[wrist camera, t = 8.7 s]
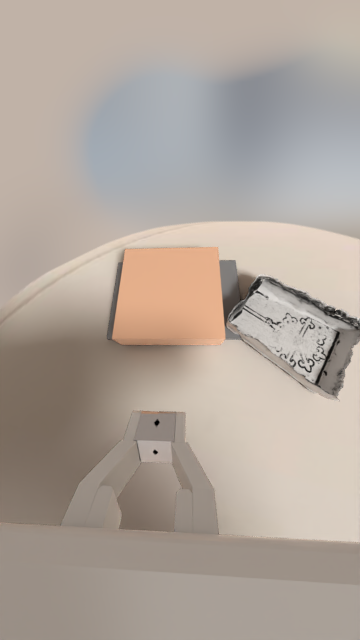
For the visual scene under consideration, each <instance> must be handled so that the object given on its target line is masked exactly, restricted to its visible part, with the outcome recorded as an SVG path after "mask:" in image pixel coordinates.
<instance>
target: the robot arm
mask: <svg viewBox="0 0 360 640" xmlns="http://www.w3.org/2000/svg"><path fill="white" fill-rule="evenodd" d="M141 462H159V463H173V467H174V469H175V472H176V474H177V477H178V479H179V482H180V484H181V487H182V489H179V490H178V491H177V493H176V508H175V525H174V532H164V531H146V530H128V529H119V526H120V522H121V517H122V513H121V511H120V508H119V505H118V502H117V498H118V496H119V495H120V493H121V492H122V490H123V489H124V487H125V486H126V484H127V483H128V481H129V480H130V479H131V477H132V476H133V474H134V473H135V471H136V470H137V468H138V467H139V465H140V464H141ZM0 640H360V542H342V541H324V540H307V539H289V538H271V537H253V536H235V535H219V532H218V522H217V512H216V503H215V493H214V488H213V487H212V485H211V483H210V481H209V480H208V478H207V476H206V474H205V472H204V471H203V469H202V467H201V465H200V463H199V462H198V460H197V458H196V456H195V455H194V453H193V451H192V449H191V447H190V446H189V444H188V443H187V442H186V414H185V412H162V411H159V412H152V411H133V412H132V414H131V417H130V420H129V423H128V427H127V430H126V433H125V436H124V439H123V440H120V441H119V442H118V443H117V444H116V445H115V446H114V447H113V449H112V450H111V451H110V452H109V453H108V454H107V455H106V456H105V457H104V458H103V459H102V460H101V461H100V462H99V463H98V464H97V465H96V466H95V467H94V468H93V469H92V470H91V471H90V472H89V473H88V474H87V476H86V477H85V478H84V479H83V480H82V481H81V482H80V483H79V485H78V487H77V489H76V491H75V493H74V496H73V498H72V500H71V502H70V505H69V507H68V509H67V511H66V514H65V516H64V518H63V520H62V522H61V525H60V526H56V525H38V524H20V523H3V522H0Z"/></svg>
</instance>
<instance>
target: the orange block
mask: <svg viewBox="0 0 360 640" xmlns="http://www.w3.org/2000/svg"><path fill="white" fill-rule="evenodd" d="M112 339H113V340H115V341H116V342H118V343H119V344H121V345H221V344H222V343H223V341H224V340H225V339H226V338H225V326H224V314H223V302H222V290H221V278H220V266H219V254H218V247H200V248H154V249H125V254H124V261H123V267H122V274H121V281H120V287H119V294H118V301H117V308H116V314H115V321H114V328H113V335H112Z"/></svg>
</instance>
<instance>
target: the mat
mask: <svg viewBox="0 0 360 640" xmlns="http://www.w3.org/2000/svg"><path fill="white" fill-rule="evenodd" d="M219 266H220V278H221V290H222V302H223V314H224V326H225V338H226V339H242V338H241V337H240V335H238V334H235V333H233V332H232V331H231V330H230V329H228V328H227V326H226V323H227V321H228V320H227V319H228V317H229V315H230V313H231V312H232V310H233V308H234V307H235V306H236V305H237V304H238V303H240V302H241V301H240V293H239V285H238V277H237V269H236V261H235V260H230V261H219ZM122 267H123V263H119V264H118V270H117V276H116V283H115V289H114V295H113V302H112V308H111V315H110V321H109V327H108V334H107V339H108V340H113V339H112V335H113V328H114V321H115V314H116V308H117V301H118V294H119V287H120V281H121V274H122Z"/></svg>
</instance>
